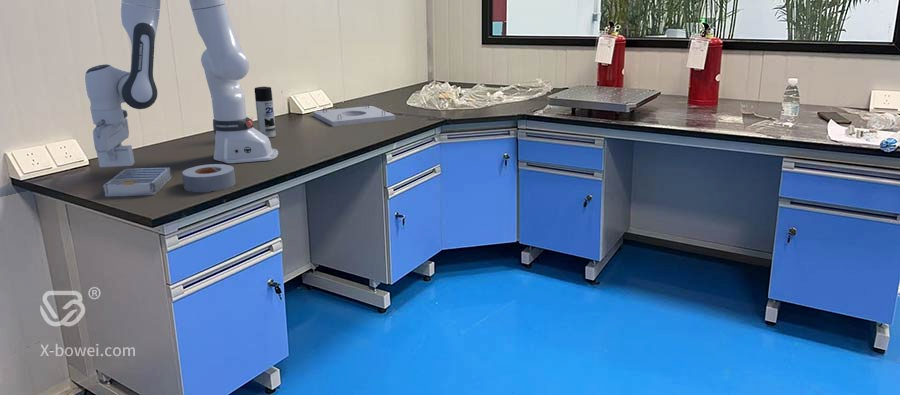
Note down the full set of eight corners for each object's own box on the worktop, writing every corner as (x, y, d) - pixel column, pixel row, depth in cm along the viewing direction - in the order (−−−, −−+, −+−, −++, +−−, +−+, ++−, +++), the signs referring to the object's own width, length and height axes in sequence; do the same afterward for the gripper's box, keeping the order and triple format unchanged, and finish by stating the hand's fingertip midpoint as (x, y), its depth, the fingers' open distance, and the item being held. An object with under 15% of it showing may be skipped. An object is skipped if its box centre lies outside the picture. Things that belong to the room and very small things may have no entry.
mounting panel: (312, 106, 310) (371, 100, 324) (313, 117, 312) (372, 111, 326) (332, 116, 288) (395, 110, 302) (333, 127, 290) (395, 120, 304)
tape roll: (175, 185, 208) (173, 169, 206) (221, 175, 218) (219, 160, 217) (197, 196, 198) (195, 180, 196) (244, 185, 208) (242, 170, 206)
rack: (171, 177, 215) (170, 165, 214) (154, 195, 198) (152, 181, 197) (126, 179, 213) (124, 167, 212) (105, 196, 196) (103, 183, 195)
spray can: (266, 139, 267) (262, 89, 260) (255, 137, 270) (250, 88, 264) (279, 136, 272) (275, 87, 266) (267, 134, 275) (263, 85, 269)
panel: (134, 162, 219) (131, 145, 217) (131, 165, 216) (128, 147, 214) (103, 164, 218) (99, 146, 216) (99, 167, 215) (95, 149, 213)
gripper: (105, 123, 202) (114, 167, 207) (128, 110, 221) (136, 150, 226) (84, 124, 202) (93, 168, 206) (109, 111, 221) (117, 151, 225)
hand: (116, 158), depth 216 cm, fingers closed on panel, 3 cm apart
